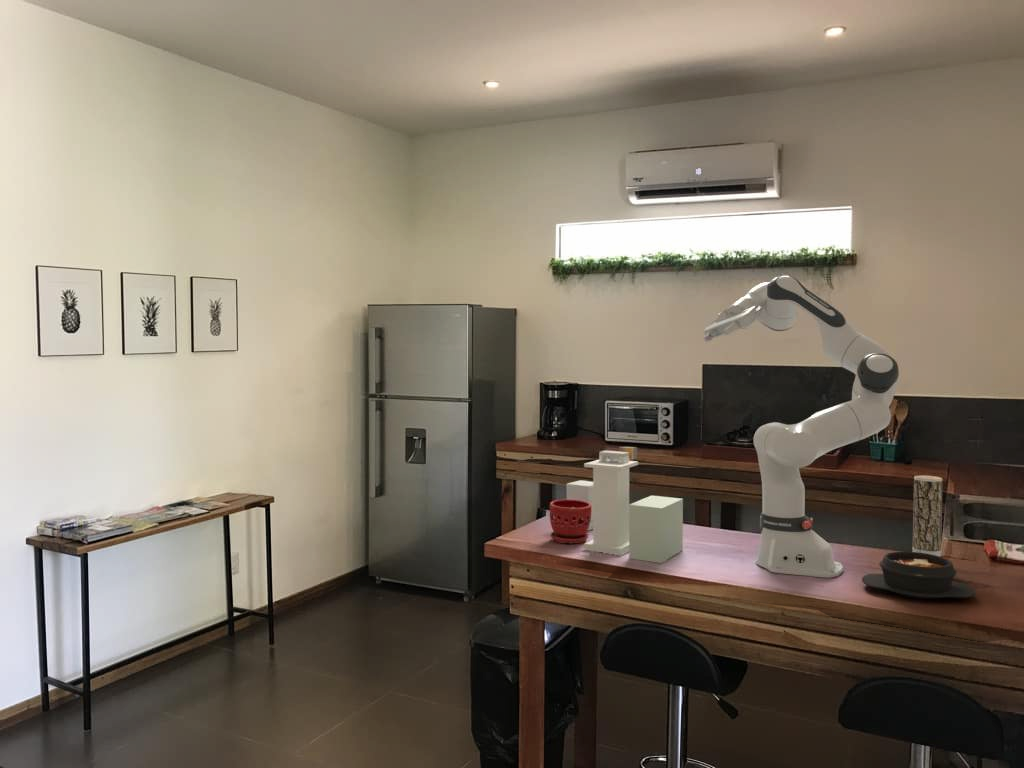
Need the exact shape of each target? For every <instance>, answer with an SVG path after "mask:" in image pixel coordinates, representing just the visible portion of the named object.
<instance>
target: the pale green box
mask: <svg viewBox="0 0 1024 768" xmlns="http://www.w3.org/2000/svg"><path fill="white" fill-rule="evenodd" d="M683 512H684V498H678V497H670V496H662V495H661V496H660V495H649V496H647V497H644V498H641V499H639V500H637V501H635V502H632V503H629V552H628V558H629V559H633V560H639V561H646V562H652V563H658V564H659V563H660V564H663V563H665V562H666V561H668V560H669V558H670V557H671V558H673V557H674V556H676V555H678V554H679V553H681V552H682V550H683V541H684V540H683V539H684V538H683V537H684V536H683V535H684V532H683V527H684V526H683V525H684V514H683ZM680 551H681V552H680ZM677 553H678V554H677ZM675 554H676V555H675ZM673 555H674V556H673ZM672 556H673V557H672ZM671 558H670V559H671ZM667 559H668V560H667Z"/></svg>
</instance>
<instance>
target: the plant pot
mask: <svg viewBox="0 0 1024 768" xmlns="http://www.w3.org/2000/svg"><path fill="white" fill-rule="evenodd" d="M571 507H575V508H571ZM591 509H592V507H591V504H590V503H588V502H585V501H580V500H567V498H566V499H555V500H552V501H551V502H549V522H550V526H551V528H552V532H551V533H550V538H551V539H552V540H554V541H555V542H557V543H559V544H565V543H569V544H570V545H571V544H572V545H574V544H573V543H576V544H581V543H583V542H586V541H587V539H588V538H589V534H588V533H587V532H588V531H587V530H588V528H589V525H590V520H591ZM582 518H583V520H582ZM569 544H568V545H569Z"/></svg>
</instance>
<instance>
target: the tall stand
mask: <svg viewBox="0 0 1024 768" xmlns="http://www.w3.org/2000/svg"><path fill="white" fill-rule="evenodd" d="M598 454H599V456H598V459H596V460H593V461H590V462H585V463H583V468H592V475H593V476H592V477H593V478H592V480H593V481H592V482H593V529H592V530H593V531H592V533H593V535H592V539H591V540H589V541H587V542H585V543H583V545H584V547H583V549H584V551H586V550H591V551H590V552H593V551H597V552H596V553H599V552H603V553H602V554H606V553H610V554H609V555H612V554H614V556H619V557H620V556H624V555H626V554H627V553H629V504H630V468H632V467H635V466H639V461H636V460H635V461H634V460H629V452H619V451H618V450H617V451H616V450H607V449H605V450H602V451H599V453H598ZM609 456H614V457H621V461H615V462H611V461H609Z"/></svg>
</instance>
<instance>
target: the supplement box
mask: <svg viewBox="0 0 1024 768" xmlns="http://www.w3.org/2000/svg"><path fill="white" fill-rule="evenodd" d="M565 485H566V499H567V500H580V501H585V502H588V503H590V504H591V507H592V509H591V520H590V525H589V528H588V530H587V532H589V531H591V530H593V481H589V480H582V479H581V480H576V481H572V482H568V483H566V484H565ZM571 508H575V507H571ZM582 520H583V518H582Z"/></svg>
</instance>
